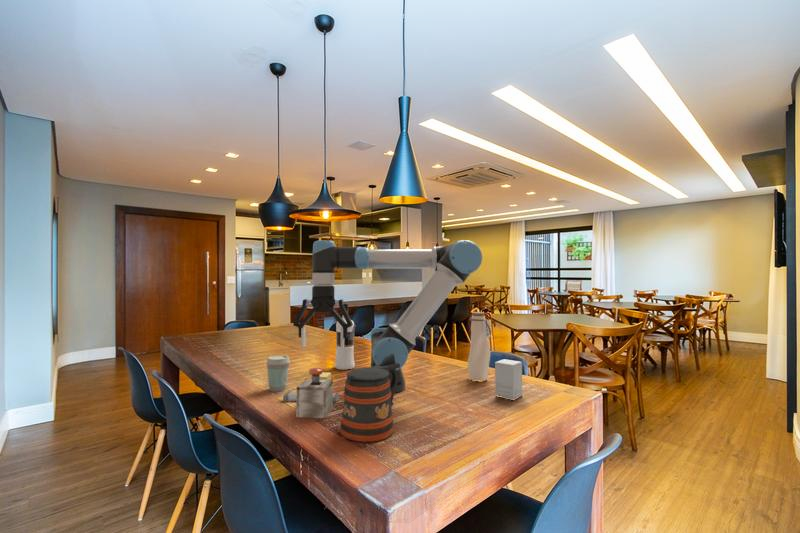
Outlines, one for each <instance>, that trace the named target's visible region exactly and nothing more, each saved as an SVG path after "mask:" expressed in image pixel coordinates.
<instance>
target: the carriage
mask: <svg viewBox="0 0 800 533" xmlns="http://www.w3.org/2000/svg"><path fill="white" fill-rule="evenodd" d="M320 380H332V372H324V371H322V374H320Z"/></svg>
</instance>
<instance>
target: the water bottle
mask: <svg viewBox="0 0 800 533" xmlns="http://www.w3.org/2000/svg"><path fill="white" fill-rule="evenodd" d="M469 321H471V324H470V347H469V348H470V349H469V350H470V351H469V355H468V359H467V371H468V379H469V378H470V379H473V380H485V379H487V378H488V377H489V370H490V367H489V366H490V362H491V345H490V339H489V338H491V337H492V331H491V322H490V319H487V318H486V315H485V312H482V311H474V312H473V311H472V315H471V317H469ZM487 380H488V379H487Z"/></svg>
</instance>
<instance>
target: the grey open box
mask: <svg viewBox="0 0 800 533" xmlns="http://www.w3.org/2000/svg"><path fill="white" fill-rule="evenodd" d="M296 393H297V401H296V412H295V413H296V416H295V417H296V418H308V419H309V418H313V419H317V418H318V419H327V417H328V416H329V414H330V413H331V411H332V410H333V408H334V407H333V406H334V405H333V404H334V403H333V394H334V380H333V379H331V380H320V385H312V378H311V379H310V378H309V379H308V378H307V379H306V378H305V379H304V380H303V381H302V382H301V383H300V384H298V386H296Z"/></svg>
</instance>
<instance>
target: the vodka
mask: <svg viewBox="0 0 800 533" xmlns="http://www.w3.org/2000/svg"><path fill="white" fill-rule="evenodd" d="M344 307H345V309H346V311H347V313H348V314H349V303H346V302H344ZM341 318H342V319H343V320H344V321H345V323H346V324H347V322H346V320H345V318H344V316H343V315H342V316H341ZM336 321H337V320H336ZM351 321H352V323H353V325H352V326H351V327H348V328H347V337H346V338H344V347H343V348H341V328H343V327H342V326H341V325H340V323H339V322H338V321H337V322H336V324H335V326H336V328H335V329H336V330H335V331H336V335H335V336H336V342H335V343H336V346H335V352H336V353H335V360H334V361H335V362H334V368H335V369H336V370H338V371H348V369H350V370H352V369H355V367H356V366H355V364H356V362H355V358H354V357H355V356H354V348H355V346H354V343H355V339H354V336H355V333H354V332H355V323H354V321H353V320H352V319H351Z"/></svg>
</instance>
